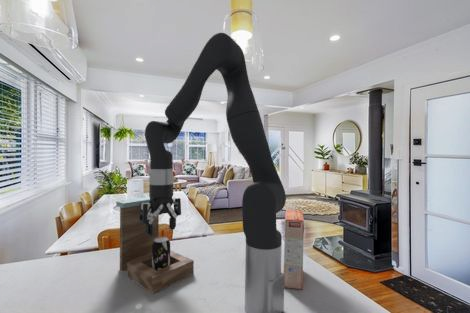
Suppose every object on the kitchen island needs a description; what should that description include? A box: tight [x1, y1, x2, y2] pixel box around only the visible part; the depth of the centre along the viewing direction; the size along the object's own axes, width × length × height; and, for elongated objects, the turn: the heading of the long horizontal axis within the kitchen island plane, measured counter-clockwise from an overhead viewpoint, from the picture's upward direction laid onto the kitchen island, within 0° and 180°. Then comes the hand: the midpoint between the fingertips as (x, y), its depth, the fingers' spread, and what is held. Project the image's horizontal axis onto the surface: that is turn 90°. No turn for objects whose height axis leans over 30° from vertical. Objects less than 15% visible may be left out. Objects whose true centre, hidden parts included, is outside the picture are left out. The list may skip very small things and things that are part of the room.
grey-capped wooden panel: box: [115, 196, 160, 272], centre depth 87 cm, size 5×16×24 cm, turn 141°
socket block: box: [126, 249, 195, 294], centre depth 79 cm, size 15×15×4 cm
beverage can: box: [152, 236, 171, 271], centre depth 79 cm, size 6×6×12 cm
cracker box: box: [283, 209, 305, 290], centre depth 79 cm, size 14×6×21 cm, turn 167°
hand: (161, 232), depth 79 cm, fingers open, 8 cm apart
